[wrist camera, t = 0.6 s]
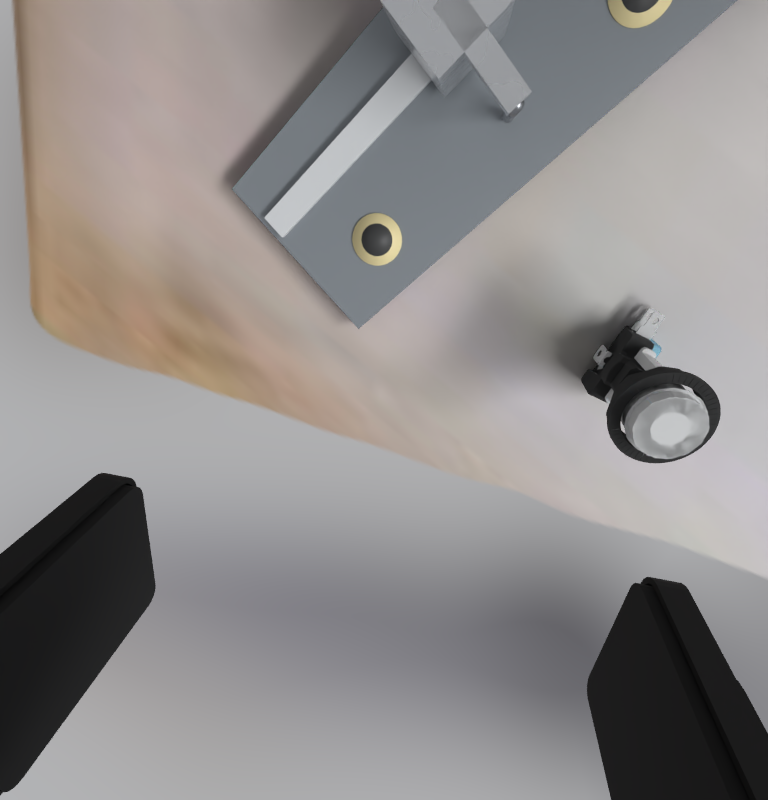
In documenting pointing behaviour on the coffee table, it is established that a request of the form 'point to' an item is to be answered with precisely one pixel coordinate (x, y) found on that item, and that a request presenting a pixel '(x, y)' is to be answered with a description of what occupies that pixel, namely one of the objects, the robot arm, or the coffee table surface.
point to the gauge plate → (444, 139)
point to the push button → (651, 398)
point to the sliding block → (461, 45)
